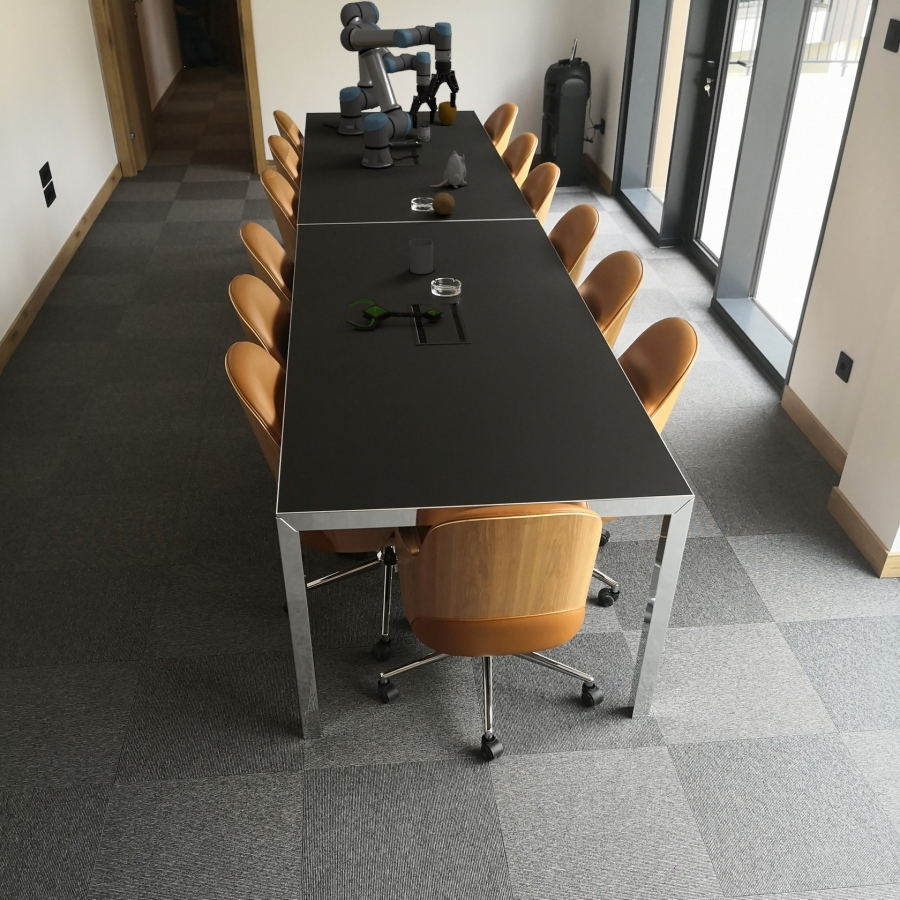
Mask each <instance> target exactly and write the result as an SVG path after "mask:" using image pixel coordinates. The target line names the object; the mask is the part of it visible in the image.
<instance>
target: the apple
mask: <svg viewBox="0 0 900 900" xmlns="http://www.w3.org/2000/svg"><path fill="white" fill-rule="evenodd" d="M437 107H438V109H437V116H438V120H439V122H440V123H441V125H442V126H449V125H452V124H453V123H454V121H455V120H456V117H457V114H458V107H457V105H456V107H455V108H452V107H450V101H449V100H446V101H442V102H439V104H438V105H437Z"/></svg>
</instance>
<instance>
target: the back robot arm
mask: <svg viewBox="0 0 900 900" xmlns="http://www.w3.org/2000/svg"><path fill="white" fill-rule="evenodd" d="M339 18H340V22H341V24H342V26H343V29H344V28H345V27H346V26H348V25H354V24H361V23H365V22H368V23H375V24H376V25H378V23H379V21H380V11H379V9H378V7H377V5H376V4H375V3H374V2H372V1H369V0H362V1H354V2H348V3H346V4H344V5H343V7H342V8H341V10H340V13H339ZM381 56H382V59H383V62H384V65H385V68H386V71H387V74H390V75H391V74H395V73H400V72H405V71H414V72H415V74H416V75H415V76H416V77H415V78H416V80H415V81H416V82H415V83H416V86H415V87H416V93H417V95H412V102H411V106H410V109H409V112H408V114H409V116H411V123H412V129H415V130H418V115H417V114H418V113H419V110H420V109H421V106H422V105H424V104H426V105H427V107H428V108H429V110H430V111H429V125H433V126H434V125H435V119H436V117H435V116H436V113H435V112H431V105H430V97H428V96H427V92H428V88H429V84H430V81H431V74H432V73H431V69H432V59H431V53H430V52H428V51H416V53H415V54H411V53H406V52H405V53H404V52H403V53H400V54H399V55H394V53H392V52H391V50H389V48H382V51H381ZM357 57H358V58H357V59H358V75H359V76H358V77H359V81H358V82H357V83H356V86H355V85H351V86H346V87H343V88H342V89H340V90H339V97H338V101H339V110H340V111H339V112H340V119H339V125H338V126H334V125H331V124H327V123H322V125H323V126H326V127H329V128H334V129H337V130H338V131H337V132H338V134H339V135H342V136H360V135H361V136H362V135H364V128H363V125H364V119H363V118H362V117H363V116H362V115H363V114H362V112H363V111H364V112H365V111H368V110H374V109H375V108H379V107H380V106H379V103H378V100H377V97H376V94H375V91H374V88H373V85H372V82H371V79H370V76H369V73H368V70H367V67H366V64H365V61H364V59H363V58H361V57H360V56H359V53H358V52H357ZM436 112H438V104H437V103H436Z"/></svg>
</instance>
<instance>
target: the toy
mask: <svg viewBox="0 0 900 900" xmlns="http://www.w3.org/2000/svg"><path fill="white" fill-rule="evenodd" d="M466 178H467V168H466V156H465V153H463V154H462V155H459V154H458V153H457V151H456V150H455V149H453V150H452V153H451V155H450V156H449V158H448V161H447V163H446V166H445V170H444V171H443V177H442V179H443V181H442V182H441V183H439V184H436V185H435V184H433V185H432V184H430V185H428V186H429V187H434V188H440V187H443V186H446V187H448V186H449V185H451V186H453V188H455V189H459V187H458V186H461V187H462V186H467V185H468V182H467V181H465V180H466Z"/></svg>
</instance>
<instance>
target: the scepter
mask: <svg viewBox="0 0 900 900" xmlns="http://www.w3.org/2000/svg"><path fill="white" fill-rule="evenodd" d="M360 303H368V304H370V305H371V306H369V307H367V308H364V309H362V310H360V312H361V313H362V315H361V317H362V318H363V319H366V320H367V321H369V322H370V324H368V325H361V324H357V323H355V322H353V321H350V320H345V322H346V323H347V324H349V325H351V326H352V327H354V328H355V329H358V330H366V331H367V330H369V331H370V330H374V328H375V327H376V325H377V324H380V323H381V322H384V321H386V320H388V319H390V318H412V319H413V318H416V319H417V318H418V319H421V318H423V319H425V320H427V321H429V322H433V323H435V322H437V321H440V320H442V319H443V317H442V314H443V312H442V311H440V310H437V309H435V308H431V309H429V310H426V311H424V312H422V311H418V312H413V311H409V312H408V311H391V310H389V309H387V308H385V307H383V306H381V305H380V304H377V302H376V301H375V300H374V299H373V298H359V299H356V300H354V301H352V302H350V303H348V304H346V307H352V306H355V305H357V304H360Z"/></svg>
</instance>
